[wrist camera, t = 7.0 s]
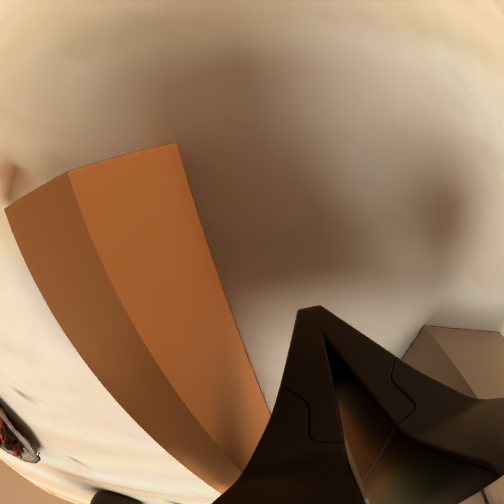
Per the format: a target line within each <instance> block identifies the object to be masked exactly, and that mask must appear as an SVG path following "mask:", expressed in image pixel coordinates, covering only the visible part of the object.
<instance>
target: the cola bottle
mask: <svg viewBox="0 0 504 504" xmlns="http://www.w3.org/2000/svg"><path fill="white" fill-rule="evenodd" d="M90 504H140V503H139V502H137V501H136V500H133V499H131V498H128V497H126V496H122V495H119V494H116V493H112V492H106V491H101V492H97V493H96V494H95V495H94V497H93V498H92V500H91V503H90Z"/></svg>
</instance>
